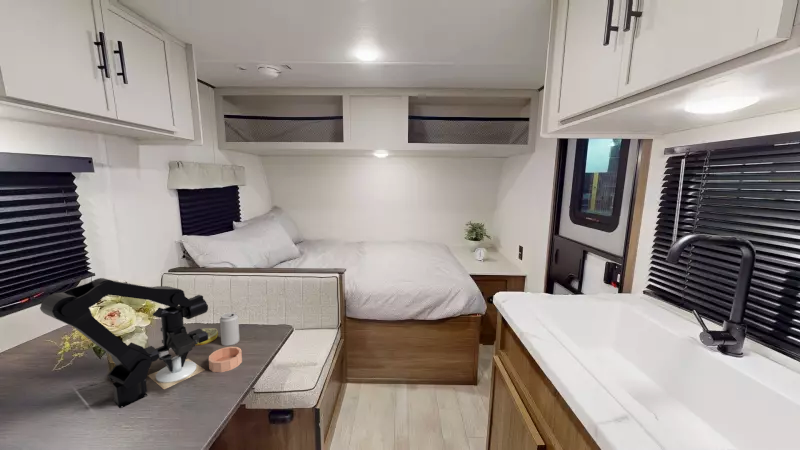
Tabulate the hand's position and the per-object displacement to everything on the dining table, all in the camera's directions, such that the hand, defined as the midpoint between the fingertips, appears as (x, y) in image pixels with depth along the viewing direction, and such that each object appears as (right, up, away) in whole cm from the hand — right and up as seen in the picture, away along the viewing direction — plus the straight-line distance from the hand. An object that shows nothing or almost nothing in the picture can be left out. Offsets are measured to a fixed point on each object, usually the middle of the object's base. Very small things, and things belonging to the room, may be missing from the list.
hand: (176, 368), depth 103 cm
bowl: (+13, -1, +6) cm, 15 cm away
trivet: (0, -2, 0) cm, 2 cm away
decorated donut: (-5, +1, +22) cm, 23 cm away
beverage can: (+7, +1, +21) cm, 22 cm away
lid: (0, -1, 0) cm, 1 cm away
